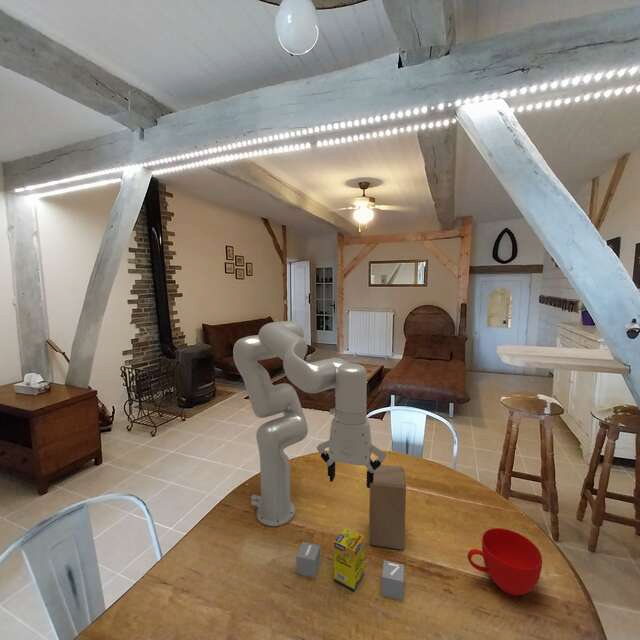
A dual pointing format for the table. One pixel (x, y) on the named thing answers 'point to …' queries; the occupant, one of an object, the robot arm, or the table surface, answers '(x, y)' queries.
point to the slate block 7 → (393, 580)
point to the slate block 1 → (308, 559)
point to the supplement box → (349, 558)
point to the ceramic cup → (509, 560)
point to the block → (387, 507)
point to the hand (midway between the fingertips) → (350, 481)
